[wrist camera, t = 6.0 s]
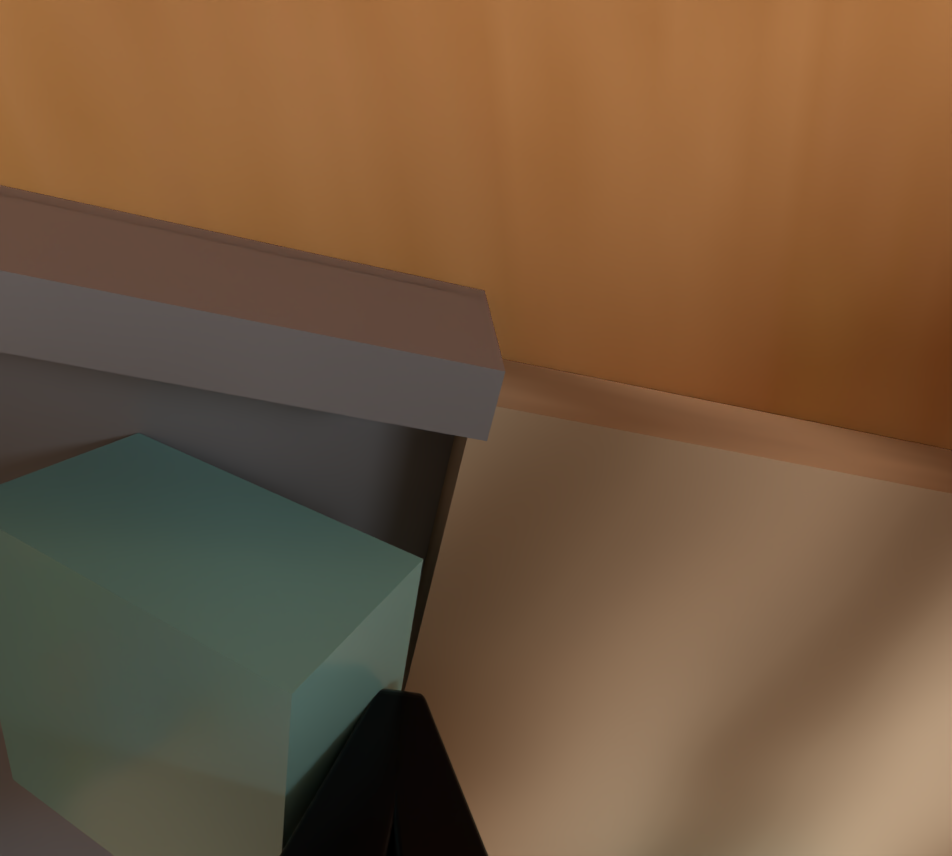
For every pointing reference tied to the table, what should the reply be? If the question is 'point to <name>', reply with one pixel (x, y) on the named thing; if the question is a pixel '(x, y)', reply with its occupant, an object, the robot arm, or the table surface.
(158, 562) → the tile
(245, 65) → the table surface
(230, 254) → the tray
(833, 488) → the bench plate
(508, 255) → the table surface
